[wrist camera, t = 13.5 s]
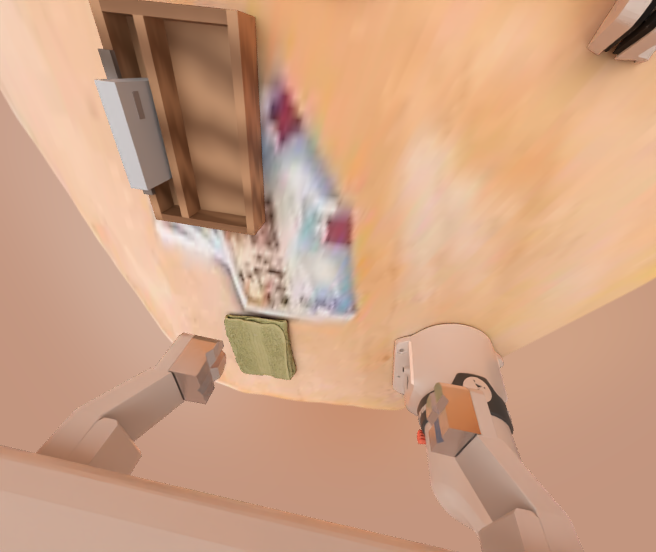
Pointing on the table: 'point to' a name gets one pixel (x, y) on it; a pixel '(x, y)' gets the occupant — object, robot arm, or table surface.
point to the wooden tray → (195, 105)
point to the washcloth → (261, 346)
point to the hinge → (628, 31)
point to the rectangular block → (135, 130)
